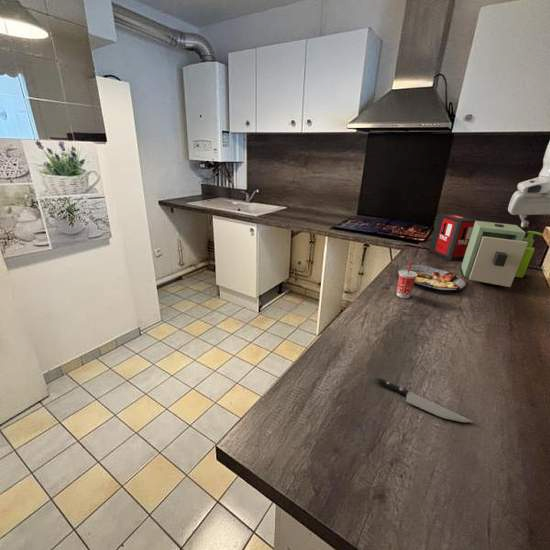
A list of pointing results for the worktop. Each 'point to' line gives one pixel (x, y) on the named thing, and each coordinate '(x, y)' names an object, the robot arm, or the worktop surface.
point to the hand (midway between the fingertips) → (541, 226)
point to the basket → (497, 261)
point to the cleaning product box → (451, 236)
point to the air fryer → (488, 231)
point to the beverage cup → (406, 282)
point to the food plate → (436, 278)
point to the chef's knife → (426, 404)
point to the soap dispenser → (526, 254)
